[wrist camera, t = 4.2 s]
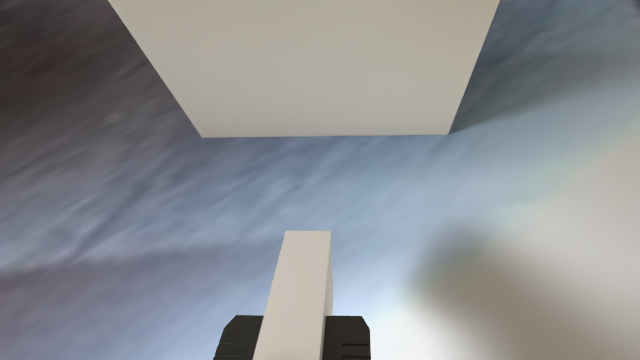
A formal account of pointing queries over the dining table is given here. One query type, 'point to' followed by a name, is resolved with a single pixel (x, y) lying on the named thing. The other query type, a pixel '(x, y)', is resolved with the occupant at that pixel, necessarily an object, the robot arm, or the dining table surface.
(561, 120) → the dining table surface
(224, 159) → the dining table surface
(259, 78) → the tile
